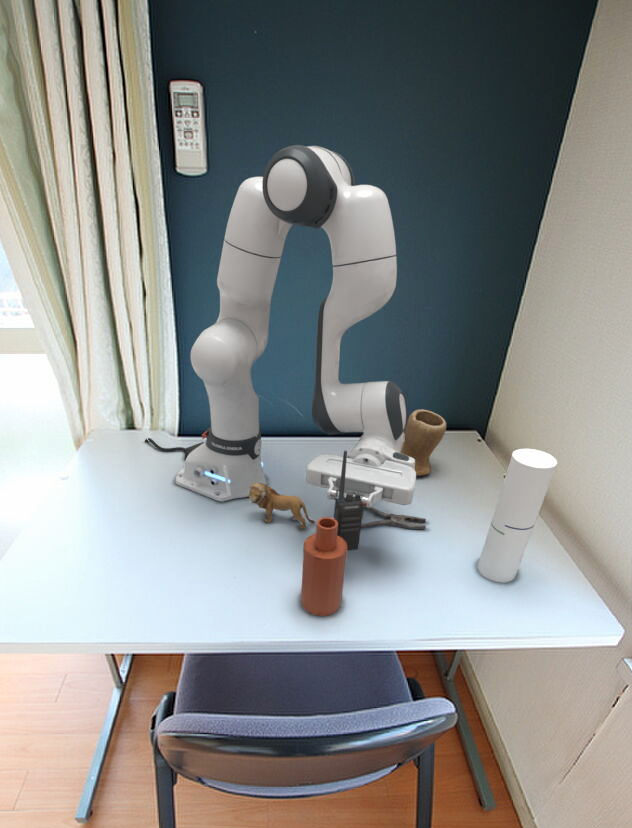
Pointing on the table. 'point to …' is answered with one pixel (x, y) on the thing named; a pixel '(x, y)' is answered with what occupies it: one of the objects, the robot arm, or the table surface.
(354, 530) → the walkie-talkie
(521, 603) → the table surface
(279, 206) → the robot arm
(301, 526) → the lion figurine
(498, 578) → the cylindrical container
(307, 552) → the bottle
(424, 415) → the stone cup
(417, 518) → the pliers
